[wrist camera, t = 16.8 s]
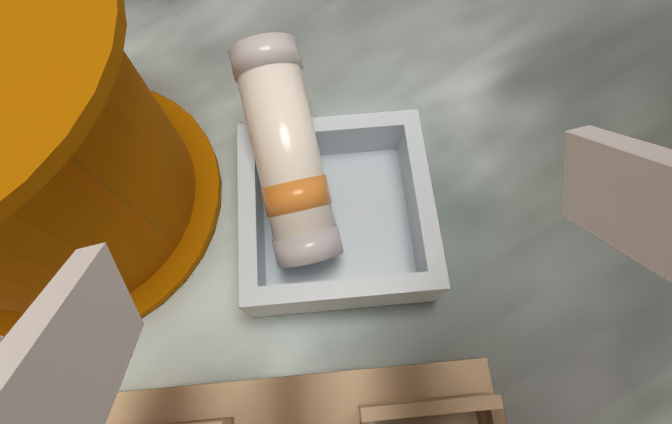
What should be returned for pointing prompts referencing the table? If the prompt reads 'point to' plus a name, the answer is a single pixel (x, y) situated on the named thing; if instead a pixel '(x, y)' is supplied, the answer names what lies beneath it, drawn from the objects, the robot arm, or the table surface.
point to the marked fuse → (285, 149)
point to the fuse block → (327, 398)
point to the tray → (350, 222)
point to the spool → (93, 158)
